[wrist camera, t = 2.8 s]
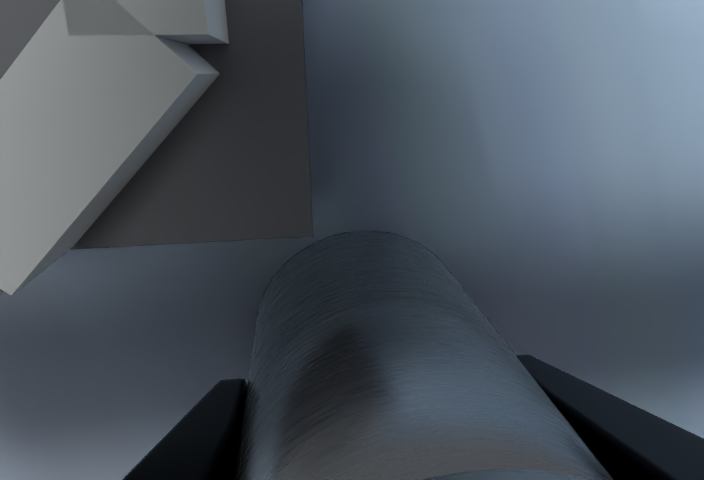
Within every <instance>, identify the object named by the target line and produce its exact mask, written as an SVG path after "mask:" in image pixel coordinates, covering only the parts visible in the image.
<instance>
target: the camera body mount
mask: <svg viewBox="0 0 704 480" xmlns="http://www.w3.org/2000/svg"><path fill="white" fill-rule="evenodd" d="M310 236H313V224H312V203H311V182H310V160H309V139H308V117H307V96H306V75H305V53H304V32H303V10H302V0H0V295H1V294H2V293H3V292H6V293H8V294H9V295H11V296H12V295H13V294H14V293H16V292H17V291H18V290H19V289H21V288H22V287H23V286H24V285H26V284H27V283H28V282H29V281H31V280H32V279H33V278H34V277H36V276H37V275H38V274H39V273H41V272H42V271H43V270H45V269H46V268H47V267H48V266H50V265H51V264H52V263H53V262H55V261H56V260H57V259H58V258H60V257H61V256H62V255H63V254H65V253H66V252H67V251H68V250H70V249H88V248H107V247H125V246H144V245H162V244H181V243H199V242H218V241H236V240H255V239H273V238H292V237H310Z"/></svg>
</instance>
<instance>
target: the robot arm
mask: <svg viewBox="0 0 704 480" xmlns="http://www.w3.org/2000/svg"><path fill="white" fill-rule="evenodd" d="M516 357H517V358H518V359H519V361H520V362H521V363H522V364H523V366H524V367H525V368H526V369H527V371H528V372H529V373H530V374H531V376H532V377H533V378H534V380H535V381H536V382H537V383H538V385H539V386H540V387H541V388H542V390H543V391H544V392H545V393H546V395H547V396H548V397H549V399H550V400H551V401H552V402H553V404H554V405H555V406H556V407H557V409H558V410H559V411H560V412H561V414H562V415H563V416H564V418H565V419H566V420H567V421H568V423H569V424H570V425H571V426H572V428H573V429H574V430H575V432H576V433H577V434H578V435H579V437H580V438H581V439H582V440H583V442H584V443H585V444H586V445H587V447H588V448H589V449H590V451H591V452H592V453H593V454H594V456H595V457H596V458H597V459H598V461H599V462H600V463H601V464H602V466H603V467H604V468H605V470H606V471H607V472H608V473H609V475H610V476H611V477H612V478H613V480H704V439H703V438H701V437H699V436H697V435H694V434H692V433H690V432H688V431H686V430H684V429H682V428H680V427H678V426H676V425H674V424H672V423H669V422H667V421H665V420H663V419H661V418H659V417H657V416H655V415H653V414H651V413H649V412H647V411H645V410H642V409H640V408H638V407H636V406H634V405H632V404H630V403H628V402H626V401H624V400H622V399H620V398H617V397H615V396H613V395H611V394H609V393H607V392H605V391H603V390H601V389H599V388H597V387H595V386H592V385H590V384H588V383H586V382H584V381H582V380H580V379H578V378H576V377H574V376H572V375H570V374H568V373H565V372H563V371H561V370H559V369H557V368H555V367H553V366H551V365H549V364H547V363H545V362H543V361H541V360H538V359H536V358H534V357H532V356H530V355H516ZM246 391H247V385H246V381H245V380H244V379H230V380H221V381H219V382H218V383H217V384H216V385H215V386H214V387H213V388H212V389H211V390H210V391H209V392H208V393H207V394H206V395H205V396H204V397H203V398H202V399H201V400H200V401H199V402H198V403H197V404H196V405H195V406H194V407H193V408H192V409H191V410H190V411H189V412H188V413H187V414H186V415H185V416H184V417H183V418H182V420H181V421H180V422H179V423H178V424H177V425H176V426H175V427H174V428H173V429H172V430H171V431H170V432H169V433H168V434H167V435H166V436H165V437H164V438H163V439H162V440H161V441H160V442H159V443H158V444H157V445H156V446H155V447H154V448H153V449H152V450H151V451H150V452H149V453H148V454H147V455H146V456H145V457H144V458H143V459H142V460H141V461H140V462H139V463H138V464H137V465H136V466H135V467H134V468H133V469H132V470H131V471H130V472H129V473H128V474H127V475H126V476H125V477H124V478H123V479H122V480H234V474H235V467H236V460H237V454H238V447H239V440H240V433H241V426H242V419H243V412H244V405H245V398H246Z"/></svg>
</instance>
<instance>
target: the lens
mask: <svg viewBox="0 0 704 480" xmlns="http://www.w3.org/2000/svg"><path fill="white" fill-rule="evenodd" d="M234 480H613V478H612V477H611V476H610V475H609V473H608V472H607V471H606V470H605V468H604V467H603V466H602V464H601V463H600V462H599V461H598V459H597V458H596V457H595V456H594V454H593V453H592V452H591V451H590V449H589V448H588V447H587V445H586V444H585V443H584V442H583V440H582V439H581V438H580V437H579V435H578V434H577V433H576V432H575V430H574V429H573V428H572V426H571V425H570V424H569V423H568V421H567V420H566V419H565V418H564V416H563V415H562V414H561V412H560V411H559V410H558V409H557V407H556V406H555V405H554V404H553V402H552V401H551V400H550V399H549V397H548V396H547V395H546V393H545V392H544V391H543V390H542V388H541V387H540V386H539V385H538V383H537V382H536V381H535V380H534V378H533V377H532V376H531V374H530V373H529V372H528V371H527V369H526V368H525V367H524V366H523V364H522V363H521V362H520V361H519V359H518V358H517V357H516V355H515V354H514V353H513V352H512V350H511V349H510V348H509V347H508V345H507V344H506V343H505V342H504V340H503V339H502V338H501V336H500V335H499V334H498V333H497V331H496V330H495V329H494V328H493V326H492V325H491V324H490V323H489V321H488V320H487V319H486V317H485V316H484V315H483V314H482V312H481V311H480V310H479V309H478V307H477V306H476V305H475V304H474V302H473V301H472V300H471V298H470V297H469V296H468V295H467V293H466V292H465V291H464V290H463V288H462V287H461V286H460V285H459V283H458V282H457V281H456V279H455V278H454V277H453V276H452V274H451V273H450V272H449V271H448V269H447V268H446V267H445V266H444V264H443V263H442V262H441V261H440V260H439V259H438V258H437V257H436V256H435V255H434V254H432V253H431V252H430V251H429V250H427V249H426V248H424V247H423V246H421V245H419V244H418V243H416V242H414V241H412V240H409V239H407V238H405V237H402V236H398V235H395V234H391V233H386V232H379V231H355V232H346V233H342V234H338V235H334V236H331V237H328V238H325V239H323V240H320V241H318V242H316V243H314V244H312V245H310V246H308V247H306V248H305V249H303V250H302V251H300V252H299V253H297V254H296V255H295V256H293V257H292V258H291V259H290V260H289V261H288V262H287V263H286V264H285V265H283V266H282V268H281V269H280V270H279V271H278V272H277V274H276V275H275V276H274V277H273V279H272V281H271V282H270V284H269V285H268V287H267V289H266V291H265V293H264V295H263V298H262V300H261V303H260V307H259V310H258V315H257V322H256V329H255V335H254V342H253V349H252V356H251V363H250V370H249V377H248V384H247V391H246V398H245V405H244V412H243V419H242V426H241V433H240V440H239V447H238V454H237V460H236V467H235V474H234Z"/></svg>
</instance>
